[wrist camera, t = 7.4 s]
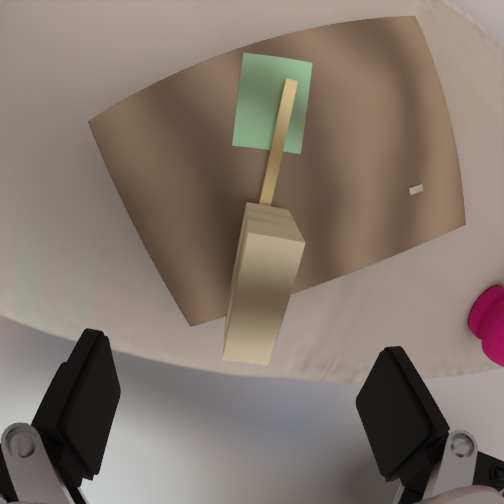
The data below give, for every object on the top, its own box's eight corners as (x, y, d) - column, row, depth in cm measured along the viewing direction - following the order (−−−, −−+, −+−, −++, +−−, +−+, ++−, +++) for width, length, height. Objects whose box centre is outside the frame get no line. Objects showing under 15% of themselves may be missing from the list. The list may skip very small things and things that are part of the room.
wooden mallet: (260, 295, 21) (268, 365, 15) (227, 290, 21) (222, 359, 15) (309, 86, 16) (347, 65, 9) (270, 77, 16) (287, 48, 9)
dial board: (193, 315, 24) (190, 328, 23) (97, 121, 18) (86, 121, 16) (455, 218, 21) (466, 225, 20) (405, 20, 15) (416, 15, 13)
